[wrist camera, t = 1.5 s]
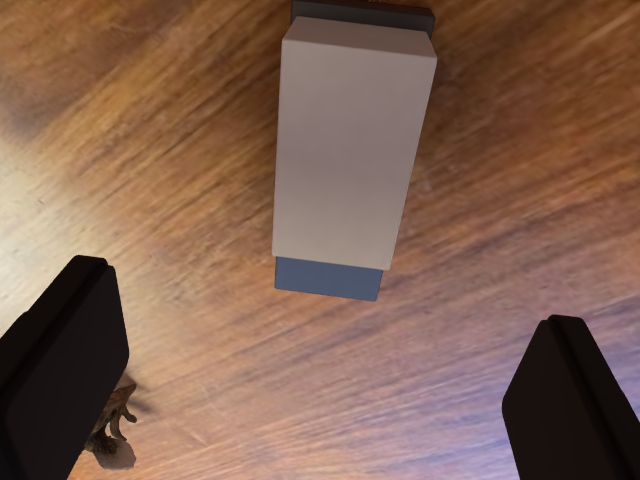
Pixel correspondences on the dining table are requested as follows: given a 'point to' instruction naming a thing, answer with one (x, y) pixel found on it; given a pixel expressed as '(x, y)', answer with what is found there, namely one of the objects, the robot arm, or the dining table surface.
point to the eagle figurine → (113, 433)
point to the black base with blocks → (347, 141)
